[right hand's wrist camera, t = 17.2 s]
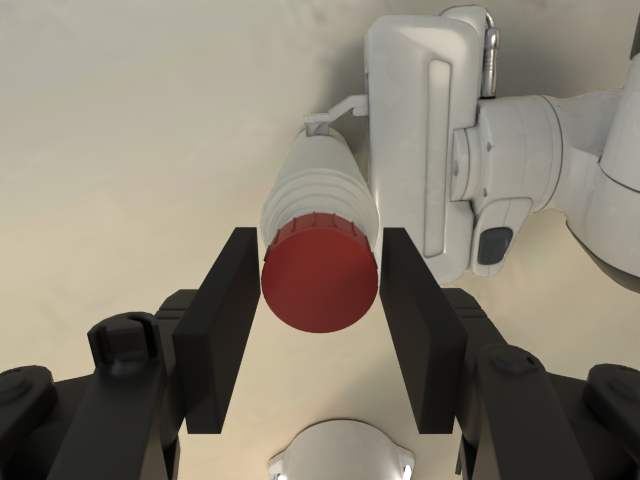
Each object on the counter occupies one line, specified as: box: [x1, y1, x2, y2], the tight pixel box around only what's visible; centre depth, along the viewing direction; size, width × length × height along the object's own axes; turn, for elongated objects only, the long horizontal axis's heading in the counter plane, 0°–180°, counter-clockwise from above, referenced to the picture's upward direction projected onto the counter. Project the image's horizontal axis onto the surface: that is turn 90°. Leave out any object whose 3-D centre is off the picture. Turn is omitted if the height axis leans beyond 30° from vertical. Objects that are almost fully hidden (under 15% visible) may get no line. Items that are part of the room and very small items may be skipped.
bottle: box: [261, 127, 379, 251], centre depth 25 cm, size 6×6×25 cm
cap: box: [261, 212, 378, 333], centre depth 14 cm, size 4×4×2 cm
